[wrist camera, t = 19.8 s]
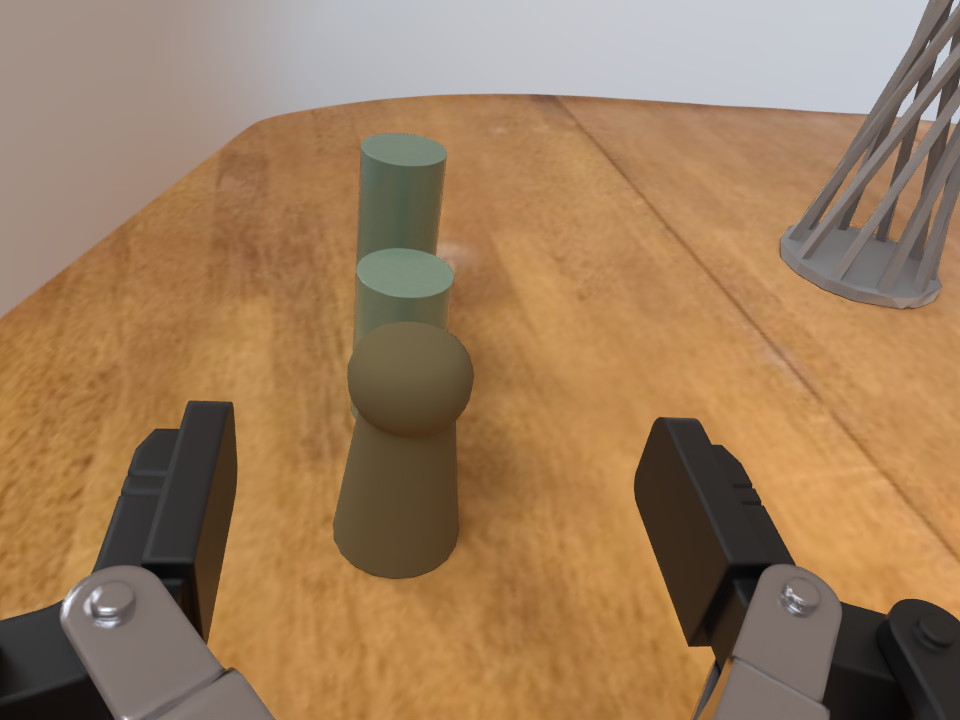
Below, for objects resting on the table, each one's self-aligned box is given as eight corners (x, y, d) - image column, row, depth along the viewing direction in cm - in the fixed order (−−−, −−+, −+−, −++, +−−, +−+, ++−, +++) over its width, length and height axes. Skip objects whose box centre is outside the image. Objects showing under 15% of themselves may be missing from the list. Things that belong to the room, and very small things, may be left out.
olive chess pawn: (407, 601, 34) (429, 411, 28) (305, 533, 36) (304, 343, 30) (482, 521, 38) (516, 341, 32) (387, 465, 41) (401, 286, 34)
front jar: (349, 434, 42) (355, 294, 37) (351, 378, 46) (357, 244, 41) (440, 436, 43) (458, 300, 38) (434, 381, 47) (450, 250, 42)
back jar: (353, 340, 49) (360, 161, 42) (354, 298, 53) (361, 129, 46) (430, 343, 50) (450, 169, 43) (426, 302, 54) (444, 136, 47)
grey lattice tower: (940, 327, 61) (1257, -221, 41) (771, 275, 65) (985, -254, 44) (931, 259, 72) (1179, -204, 51) (785, 218, 75) (964, -232, 55)
